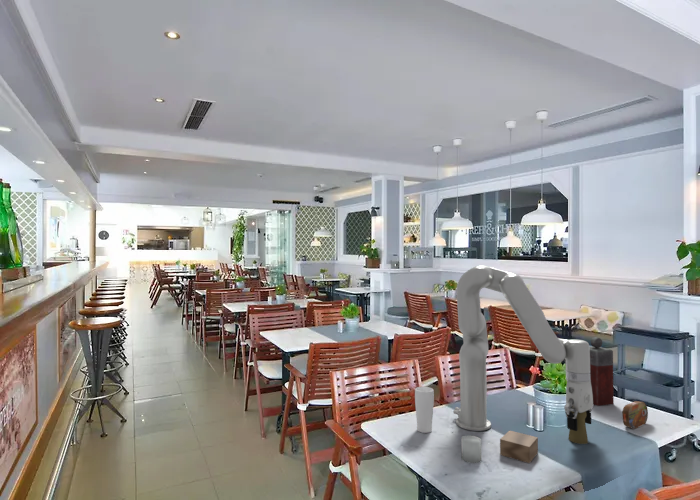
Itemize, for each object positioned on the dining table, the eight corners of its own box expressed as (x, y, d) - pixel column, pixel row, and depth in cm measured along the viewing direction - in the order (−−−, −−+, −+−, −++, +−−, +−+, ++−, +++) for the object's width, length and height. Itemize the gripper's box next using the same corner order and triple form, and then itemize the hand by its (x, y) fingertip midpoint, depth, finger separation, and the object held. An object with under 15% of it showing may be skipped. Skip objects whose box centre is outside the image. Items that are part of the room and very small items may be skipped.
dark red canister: (592, 396, 196) (592, 334, 197) (613, 404, 186) (613, 339, 186) (576, 397, 194) (576, 335, 194) (597, 406, 183) (596, 340, 184)
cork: (590, 444, 145) (590, 411, 145) (571, 443, 146) (571, 410, 146) (584, 437, 151) (584, 405, 151) (566, 436, 152) (565, 404, 152)
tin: (629, 431, 157) (629, 407, 157) (620, 428, 159) (620, 405, 159) (648, 422, 165) (648, 400, 165) (639, 420, 167) (639, 398, 168)
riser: (500, 454, 137) (500, 439, 137) (509, 445, 144) (509, 430, 144) (529, 463, 132) (529, 446, 132) (537, 453, 139) (537, 437, 139)
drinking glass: (425, 436, 152) (425, 393, 152) (411, 430, 157) (411, 388, 157) (437, 431, 156) (437, 389, 156) (423, 425, 161) (423, 385, 162)
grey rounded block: (457, 457, 135) (457, 438, 136) (469, 452, 139) (469, 433, 139) (473, 465, 131) (473, 445, 131) (485, 459, 134) (485, 440, 134)
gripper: (576, 383, 141) (578, 436, 140) (601, 374, 151) (602, 423, 151) (554, 378, 147) (555, 429, 146) (579, 370, 157) (580, 417, 157)
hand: (579, 426), depth 148 cm, fingers open, 9 cm apart
